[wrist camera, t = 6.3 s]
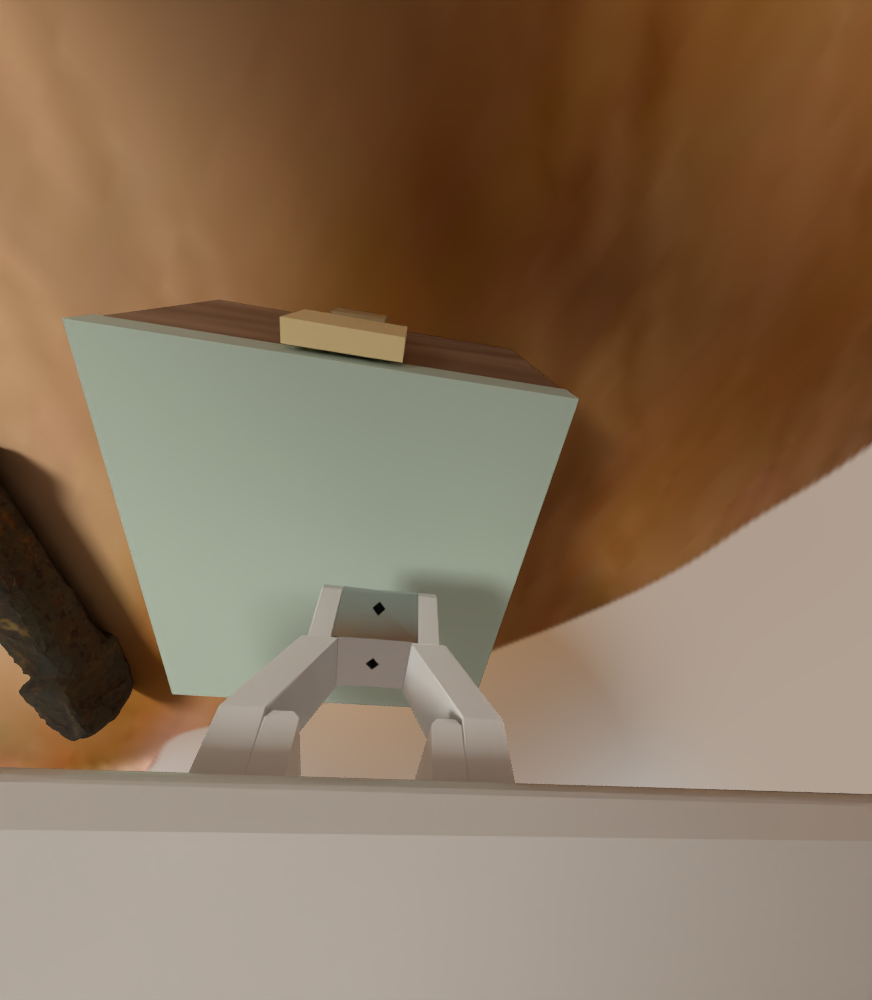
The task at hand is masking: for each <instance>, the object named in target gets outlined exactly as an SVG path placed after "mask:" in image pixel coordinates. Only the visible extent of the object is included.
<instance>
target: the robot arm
mask: <svg viewBox="0 0 872 1000" xmlns="http://www.w3.org/2000/svg"><path fill="white" fill-rule="evenodd" d="M335 685H347V686H372V687H384V688H395V689H403V690H402V691H403V693H404V695H405V697H406V699H407V701H408V703H409V705H410V707H411V709H412V711H413V713H414V715H415V717H416V719H417V721H418V723H419V725H420V727H421V729H422V731H423V733H424V735H425V736H426V739H427V741H426V745H425V748H424V752H423V755H422V758H421V761H420V764H419V768H418V771H417V774H416V778H415V780H400V779H399V780H398V779H367V778H336V777H335V778H334V777H304V776H300V775H301V770H300V735H299V732H300V731H301V729H302V728H303V727H304V725H305V724H306V723H307V722H308V721H309V719H310V718H311V717H312V716H313V714H314V713H315V712H316V711H317V710H318V708H319V707H320V706H321V705H322V703H323V702H324V701H325V700H326V698H327V697H328V696H329V695H330V693H331V692H332V691H333V690H334V688H335ZM0 1000H872V794H845V793H814V792H781V791H779V792H778V791H750V790H717V789H684V788H682V789H681V788H652V787H618V786H585V785H553V784H523V783H522V784H521V783H515V782H514V776H513V771H512V765H511V760H510V755H509V749H508V744H507V738H506V733H505V727H504V723H503V720H502V718H501V717H500V716H499V715H498V713H497V712H496V711H495V710H494V708H493V707H492V705H491V704H490V703H489V701H488V700H487V699H486V698H485V696H484V695H483V694H482V692H481V691H480V690H479V688H478V687H477V686H476V684H475V683H474V682H473V681H472V679H471V678H470V677H469V675H468V674H467V673H466V671H465V670H464V669H463V667H462V666H461V665H460V664H459V662H458V661H457V660H456V658H455V657H454V656H453V654H452V653H451V652H450V650H449V649H448V648H447V647H446V646H444V645H440V633H439V617H438V600H437V596H436V594H425V593H418V594H417V593H413V592H400V591H388V590H374V589H366V588H357V587H348V586H336V585H328V584H324V585H323V587H322V589H321V592H320V596H319V599H318V603H317V606H316V609H315V613H314V616H313V619H312V623H311V626H310V630H309V633H308V635H301V636H300V637H299V638H298V639H296V640H295V641H294V642H293V643H292V644H291V645H289V646H288V647H287V648H286V649H285V650H283V651H282V652H281V653H280V654H279V655H278V656H276V657H275V658H274V659H273V660H272V661H271V662H269V663H268V664H267V665H266V666H265V667H264V668H262V669H261V670H260V671H259V672H258V673H257V674H255V675H254V676H253V677H252V678H251V679H249V680H248V681H247V682H246V683H245V684H244V685H242V686H241V687H240V688H239V689H238V690H237V691H235V692H234V693H233V694H232V695H231V696H230V697H228V698H227V699H226V700H225V701H224V702H223V703H221V704H220V705H219V707H218V709H217V711H216V714H215V716H214V718H213V720H212V722H211V725H210V727H209V729H208V731H207V734H206V736H205V738H204V740H203V742H202V745H201V747H200V749H199V751H198V753H197V756H196V758H195V760H194V762H193V765H192V767H191V769H190V771H189V773H176V772H144V771H111V770H79V769H47V768H15V767H0Z"/></svg>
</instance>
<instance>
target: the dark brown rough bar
mask: <svg viewBox="0 0 872 1000" xmlns="http://www.w3.org/2000/svg"><path fill="white" fill-rule="evenodd" d="M0 644H1V645H2V646H3V647H4V648H5V649H6V651H7V652H8V653H9V655H10V656H12V657H13V658H14V663H17V664H18V665H19V666H20V667H21V668H22V671H23V674H28V675H29V676H30V680H29V681H28V682H26V683H25V684H24V685H23V686H22V687H21V689H20V690H19V693H20V695H21V696H22V697H23V698H24V699H25V701H26V702H27V703H28V704H30V705H31V706H33V707H34V708H35V710H36V711H37V712H38V713H39V716H40V718H42V719H45V721H46V724H47V725H48V726H49V727H51V728H52V729H54V730H56V731H58V732H59V733H60V734H61V735H62V736H64V737H65V738H67V739H69V740H71V741H75V740H78V739H79V738H82V739H83V738H88V737H90V736H92V735H94V734H96V733H97V732H98V731H99V730H101V729H102V728H103V727H104V726H106V725H107V724H108V723H109V722H110V721H112V720H114V719H115V718H116V717H117V716H118V714H119V713H120V710H121V709H122V707H123V706H124V704H125V703H126V701H127V700H128V698H129V696H130V694H131V692H132V686H133V684H132V679H131V675H130V669H129V665H128V664H127V661H126V659H125V658H124V655H123V653H122V650H121V647H120V645H119V641H118V639H117V638H116V637H115V636H114V635H113V634H110V633H106V632H100V631H99V630H98V629H97V628H96V627H95V626H94V625H93V623H92V622H91V620H90V619H89V617H88V616H87V614H86V611H85V609H84V608H83V607H82V605H81V604H80V602H79V601H78V599H77V597H76V594H75V591H74V590H73V589H71V588H70V587H69V586H68V585H67V584H66V582H65V581H64V579H63V578H62V576H61V575H60V573H59V572H58V570H57V569H56V568H55V566H54V565H53V563H52V562H51V560H50V558H49V557H48V555H47V554H46V552H45V550H44V548H43V547H42V545H41V544H40V542H39V541H38V539H37V538H36V537H35V535H34V534H33V531H32V530H31V529H30V527H29V526H28V525H27V523H26V522H25V520H24V519H23V517H22V516H21V514H20V513H19V511H18V509H17V508H16V506H15V505H14V504H13V502H12V500H11V498H10V497H9V495H8V493H7V492H6V491H5V490H4V489H3V487H2V486H1V485H0Z"/></svg>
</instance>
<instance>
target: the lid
mask: <svg viewBox="0 0 872 1000" xmlns="http://www.w3.org/2000/svg"><path fill="white" fill-rule="evenodd" d="M62 320H63V323H64V326H65V330H66V333H67V337H68V340H69V343H70V347H71V350H72V354H73V357H74V361H75V364H76V367H77V371H78V374H79V378H80V381H81V384H82V388H83V391H84V395H85V398H86V401H87V405H88V408H89V412H90V415H91V419H92V422H93V425H94V429H95V432H96V436H97V439H98V442H99V446H100V449H101V453H102V456H103V460H104V463H105V466H106V470H107V473H108V477H109V480H110V483H111V487H112V490H113V494H114V497H115V501H116V504H117V507H118V511H119V514H120V518H121V521H122V524H123V528H124V531H125V535H126V538H127V542H128V545H129V548H130V552H131V555H132V559H133V562H134V565H135V569H136V572H137V576H138V579H139V582H140V586H141V589H142V593H143V596H144V600H145V603H146V606H147V610H148V613H149V617H150V620H151V623H152V627H153V630H154V634H155V637H156V641H157V644H158V647H159V651H160V654H161V658H162V661H163V664H164V668H165V671H166V675H167V678H168V682H169V685H170V688H171V692H172V694H178V695H196V696H214V697H230V696H231V695H232V694H233V693H234V692H235V691H237V690H238V689H239V688H240V687H241V686H242V685H244V684H245V683H246V682H247V681H248V680H249V679H251V678H252V677H253V676H254V675H255V674H257V673H258V672H259V671H260V670H261V669H262V668H264V667H265V666H266V665H267V664H268V663H269V662H271V661H272V660H273V659H274V658H275V657H276V656H278V655H279V654H280V653H281V652H282V651H283V650H285V649H286V648H287V647H288V646H289V645H291V644H292V643H293V642H294V641H295V640H296V639H298V638H299V637H300V636H301V635H308V633H309V630H310V626H311V623H312V619H313V616H314V613H315V609H316V606H317V603H318V599H319V596H320V592H321V589H322V587H323V585H324V584H328V585H336V586H348V587H357V588H366V589H374V590H388V591H400V592H413V593H417V594H418V593H425V594H436V596H437V600H438V617H439V633H440V645H444V646H446V647H447V648H448V649H449V650H450V652H451V653H452V654H453V656H454V657H455V658H456V660H457V661H458V662H459V664H460V665H461V666H462V667H463V669H464V670H465V671H466V673H467V674H468V675H469V677H470V678H471V679H472V681H473V682H474V683H475V684H476V686H477V687H478V688H479V685H480V682H481V679H482V677H483V673H484V671H485V668H486V665H487V662H488V659H489V656H490V654H491V651H492V648H493V645H494V642H495V639H496V636H497V633H498V631H499V628H500V625H501V622H502V619H503V616H504V613H505V610H506V608H507V605H508V602H509V599H510V596H511V593H512V590H513V587H514V585H515V582H516V579H517V576H518V573H519V570H520V567H521V565H522V562H523V559H524V556H525V553H526V550H527V547H528V544H529V542H530V539H531V536H532V533H533V530H534V527H535V524H536V521H537V519H538V516H539V513H540V510H541V507H542V504H543V501H544V498H545V496H546V493H547V490H548V487H549V484H550V481H551V478H552V475H553V473H554V470H555V467H556V464H557V461H558V458H559V455H560V452H561V450H562V447H563V444H564V441H565V438H566V435H567V432H568V429H569V427H570V424H571V421H572V418H573V415H574V412H575V409H576V406H577V404H578V401H579V399H578V398H577V397H576V396H574V395H573V394H572V393H570V392H569V391H568V390H566V389H560V388H553V387H547V386H541V385H535V384H528V383H522V382H516V381H510V380H503V379H497V378H491V377H484V376H478V375H472V374H466V373H459V372H453V371H447V370H441V369H434V368H428V367H422V366H415V365H409V364H403V357H404V351H405V344H406V336H407V326H401V325H395V324H389V323H383V322H377V321H371V320H366V319H360V318H354V317H348V316H342V315H336V314H330V313H325V312H319V311H313V310H307V309H304V310H301V311H297V312H294V313H290V314H287V315H283V316H280V340H281V343H282V344H277V343H271V342H265V341H259V340H252V339H246V338H240V337H233V336H227V335H221V334H215V333H208V332H202V331H196V330H190V329H183V328H177V327H171V326H164V325H158V324H152V323H146V322H139V321H133V320H127V319H121V318H114V317H108V316H102V315H96V314H92V315H84V316H75V317H67V318H62ZM284 344H288V345H284ZM290 345H294V346H290ZM296 346H301V347H296ZM303 347H307V348H303ZM309 348H313V349H309ZM315 349H319V350H315ZM321 350H326V351H321ZM328 351H332V352H328ZM334 352H338V353H334ZM340 353H345V354H340ZM346 354H351V355H346ZM353 355H357V356H353ZM359 356H363V357H359ZM365 357H370V358H365ZM372 358H376V359H372ZM378 359H382V360H378ZM384 360H388V361H384ZM390 361H395V362H390ZM397 362H401V363H397ZM402 690H403V689H395V688H384V687H372V686H347V685H335V688H334V690H333V691H332V692H331V693H330V695H329V696H328V697H327V698H326V700H325V701H324V702H323V703H342V704H360V705H378V706H397V707H410V705H409V703H408V701H407V699H406V697H405V695H404V693H403V691H402Z"/></svg>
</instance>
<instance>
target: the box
mask: <svg viewBox="0 0 872 1000" xmlns="http://www.w3.org/2000/svg"><path fill="white" fill-rule="evenodd" d="M290 313H294V312H288V311H282V310H276V309H270V308H264V307H258V306H252V305H247V304H241V303H235V302H229V301H223V300H214V301H207V302H200V303H192V304H185V305H178V306H170V307H163V308H156V309H148V310H141V311H134V312H126V313H119V314H111V315H104V316H108V317H114V318H121V319H127V320H133V321H139V322H146V323H152V324H158V325H164V326H171V327H177V328H183V329H190V330H196V331H202V332H208V333H215V334H221V335H227V336H233V337H240V338H246V339H252V340H259V341H265V342H271V343H277V344H282V343H281V340H280V316H283V315H287V314H290ZM331 314H336V315H342V316H348V317H354V318H360V319H366V320H371V321H377V322H383V323H387V317H388V316H385V315H380V314H374V313H368V312H362V311H356V310H351V309H345V308H339V307H338V308H335V309H333V310H331ZM284 345H288V344H284ZM290 346H294V345H290ZM296 347H301V346H296ZM303 348H307V347H303ZM309 349H313V348H309ZM315 350H319V349H315ZM321 351H326V350H321ZM328 352H332V351H328ZM334 353H338V352H334ZM340 354H345V353H340ZM346 355H351V354H346ZM353 356H357V355H353ZM359 357H363V356H359ZM365 358H370V357H365ZM372 359H376V358H372ZM378 360H382V359H378ZM384 361H388V360H384ZM390 362H395V361H390ZM397 363H401V362H397ZM403 364H409V365H415V366H422V367H428V368H434V369H441V370H447V371H453V372H459V373H466V374H472V375H478V376H484V377H491V378H497V379H503V380H510V381H516V382H522V383H528V384H535V385H541V386H547V387H553V388H559V387H557V386H556V385H555V384H554V383H552V382H551V381H550V380H549V379H547V378H546V377H545V376H544V375H543V374H541V373H540V372H539V371H538V370H536V369H535V368H534V367H533V366H532V365H530V364H529V363H528V362H527V361H525V360H524V359H523V358H522V357H521V356H519V355H518V354H517V353H516V352H514V351H513V350H512V349H506V348H501V347H495V346H489V345H483V344H477V343H471V342H465V341H459V340H453V339H447V338H441V337H436V336H430V335H424V334H418V333H412V332H407V336H406V344H405V351H404V357H403Z"/></svg>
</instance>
